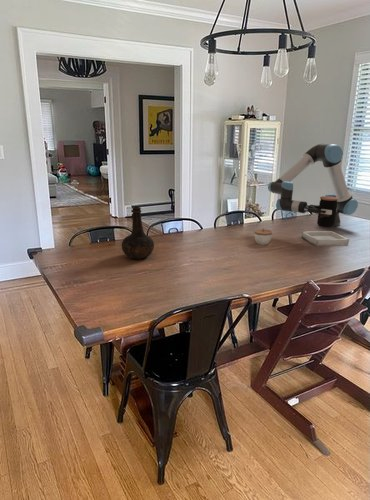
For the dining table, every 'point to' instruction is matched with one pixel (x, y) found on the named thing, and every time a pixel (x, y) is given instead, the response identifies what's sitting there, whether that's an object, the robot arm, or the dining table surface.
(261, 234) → the lidded jar
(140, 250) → the glass bottle
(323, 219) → the coffee jar
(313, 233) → the tray
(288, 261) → the dining table surface
